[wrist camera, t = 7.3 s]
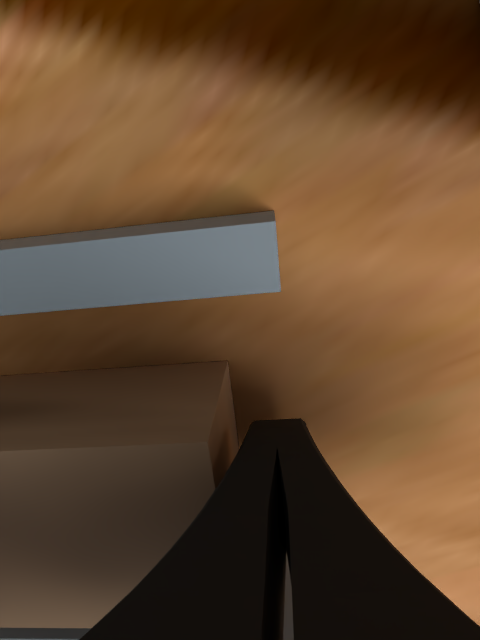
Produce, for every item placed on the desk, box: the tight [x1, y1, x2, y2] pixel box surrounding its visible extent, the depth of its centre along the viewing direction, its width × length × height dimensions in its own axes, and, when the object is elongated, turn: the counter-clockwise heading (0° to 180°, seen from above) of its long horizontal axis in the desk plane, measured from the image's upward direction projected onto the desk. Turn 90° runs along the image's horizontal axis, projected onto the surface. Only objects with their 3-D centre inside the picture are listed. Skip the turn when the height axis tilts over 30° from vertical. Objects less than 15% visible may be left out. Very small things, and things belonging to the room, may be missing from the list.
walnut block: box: [0, 361, 239, 628], centre depth 10 cm, size 5×8×4 cm, turn 96°
